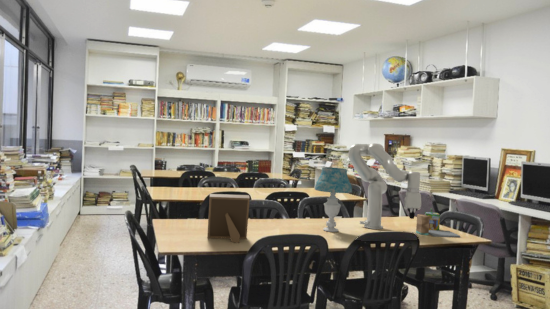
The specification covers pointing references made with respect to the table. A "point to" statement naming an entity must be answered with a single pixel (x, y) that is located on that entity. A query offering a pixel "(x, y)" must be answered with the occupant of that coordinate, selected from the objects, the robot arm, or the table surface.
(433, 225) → the colorful lidded canister
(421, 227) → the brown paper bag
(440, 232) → the mat
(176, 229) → the table surface
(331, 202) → the table lamp
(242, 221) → the photo frame
